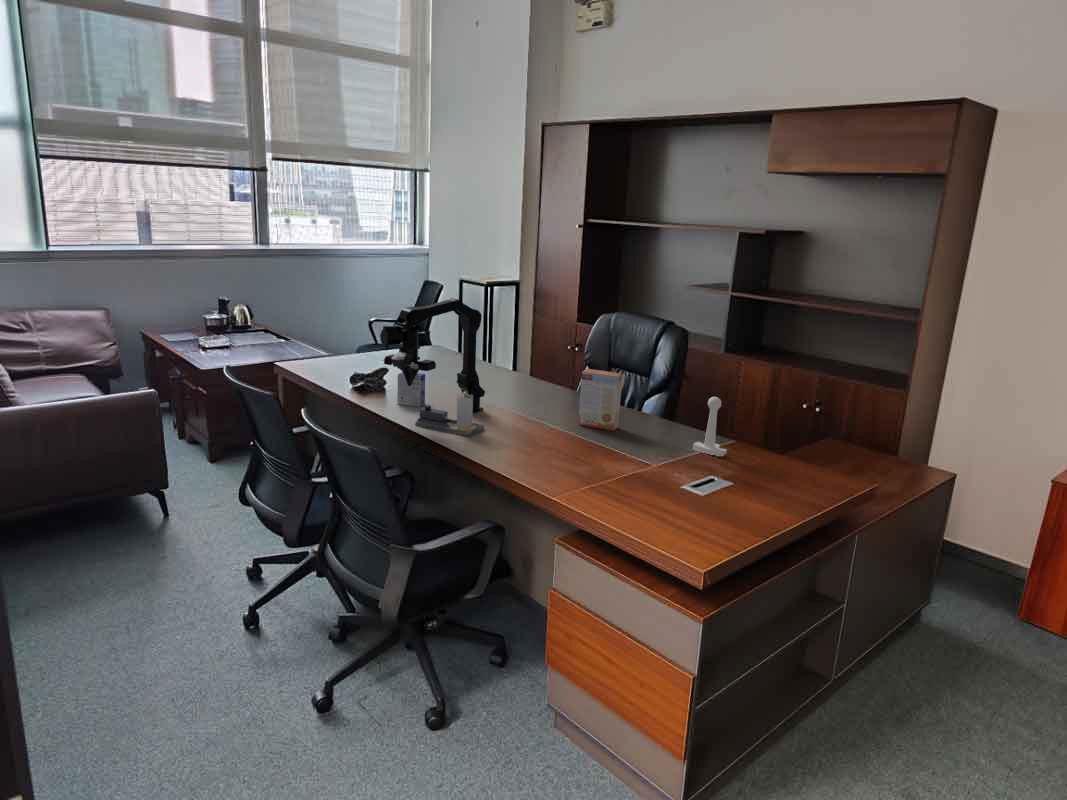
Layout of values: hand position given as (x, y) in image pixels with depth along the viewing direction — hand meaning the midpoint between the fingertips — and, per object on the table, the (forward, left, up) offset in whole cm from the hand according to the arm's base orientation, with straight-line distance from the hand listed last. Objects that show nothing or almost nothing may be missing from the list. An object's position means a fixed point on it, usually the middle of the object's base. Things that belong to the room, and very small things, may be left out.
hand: (409, 385), depth 266 cm
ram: (0, +10, -11) cm, 15 cm away
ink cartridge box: (-18, -11, -13) cm, 25 cm away
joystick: (-26, +105, -13) cm, 109 cm away
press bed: (-1, +17, -13) cm, 21 cm away
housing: (0, +23, -11) cm, 26 cm away
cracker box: (-32, +62, -13) cm, 71 cm away
